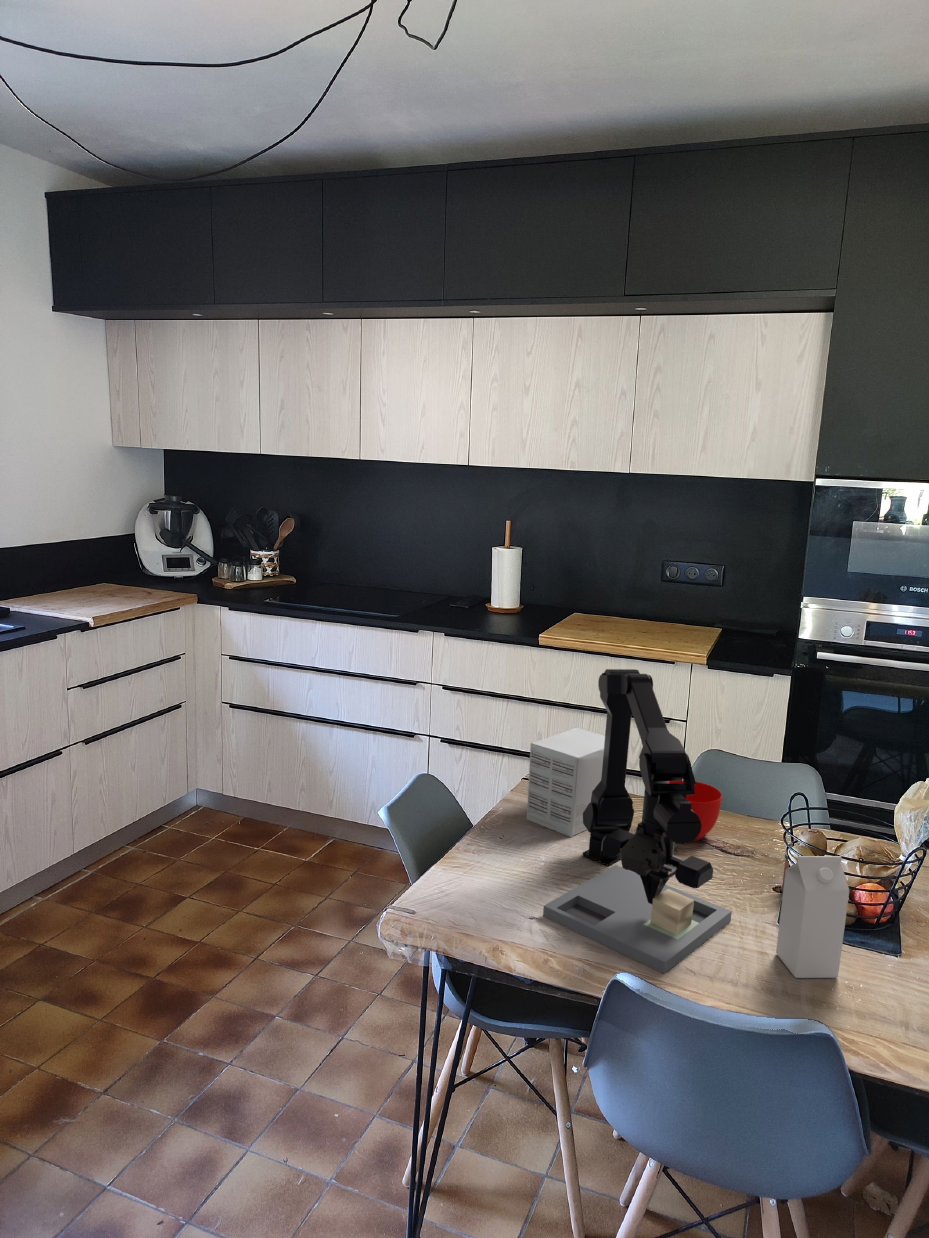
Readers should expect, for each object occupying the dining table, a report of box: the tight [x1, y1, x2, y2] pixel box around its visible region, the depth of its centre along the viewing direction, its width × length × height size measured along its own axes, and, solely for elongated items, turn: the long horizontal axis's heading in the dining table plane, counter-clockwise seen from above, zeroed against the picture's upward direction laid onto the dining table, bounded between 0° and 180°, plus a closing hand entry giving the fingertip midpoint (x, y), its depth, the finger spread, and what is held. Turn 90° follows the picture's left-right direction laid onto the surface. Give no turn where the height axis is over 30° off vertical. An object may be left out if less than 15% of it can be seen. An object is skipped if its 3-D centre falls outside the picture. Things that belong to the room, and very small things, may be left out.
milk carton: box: [775, 855, 850, 979], centre depth 139 cm, size 7×7×19 cm
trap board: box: [542, 864, 733, 974], centre depth 153 cm, size 23×24×2 cm
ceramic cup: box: [668, 780, 723, 842], centre depth 187 cm, size 13×17×10 cm
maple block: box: [650, 889, 694, 935], centre depth 148 cm, size 5×5×4 cm
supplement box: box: [526, 727, 605, 838], centre depth 194 cm, size 17×13×18 cm
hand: (651, 903), depth 150 cm, fingers closed
